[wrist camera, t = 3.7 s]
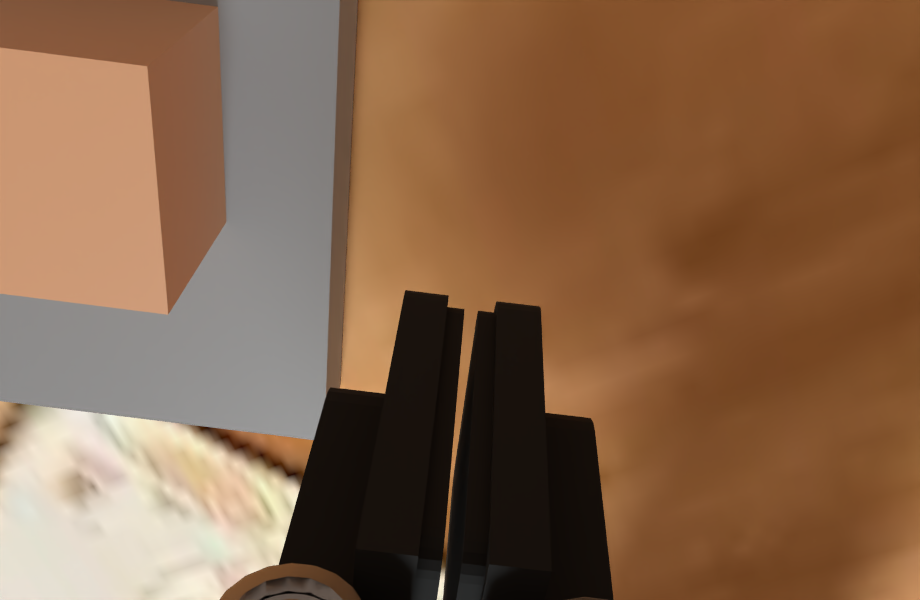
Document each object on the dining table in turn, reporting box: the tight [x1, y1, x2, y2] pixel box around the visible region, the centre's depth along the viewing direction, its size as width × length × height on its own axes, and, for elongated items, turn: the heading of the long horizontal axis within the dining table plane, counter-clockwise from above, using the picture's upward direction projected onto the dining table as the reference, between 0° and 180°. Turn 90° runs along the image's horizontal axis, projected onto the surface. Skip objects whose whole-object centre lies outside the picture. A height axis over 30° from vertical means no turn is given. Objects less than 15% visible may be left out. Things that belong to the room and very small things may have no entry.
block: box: [0, 0, 226, 315], centre depth 17 cm, size 5×5×4 cm
